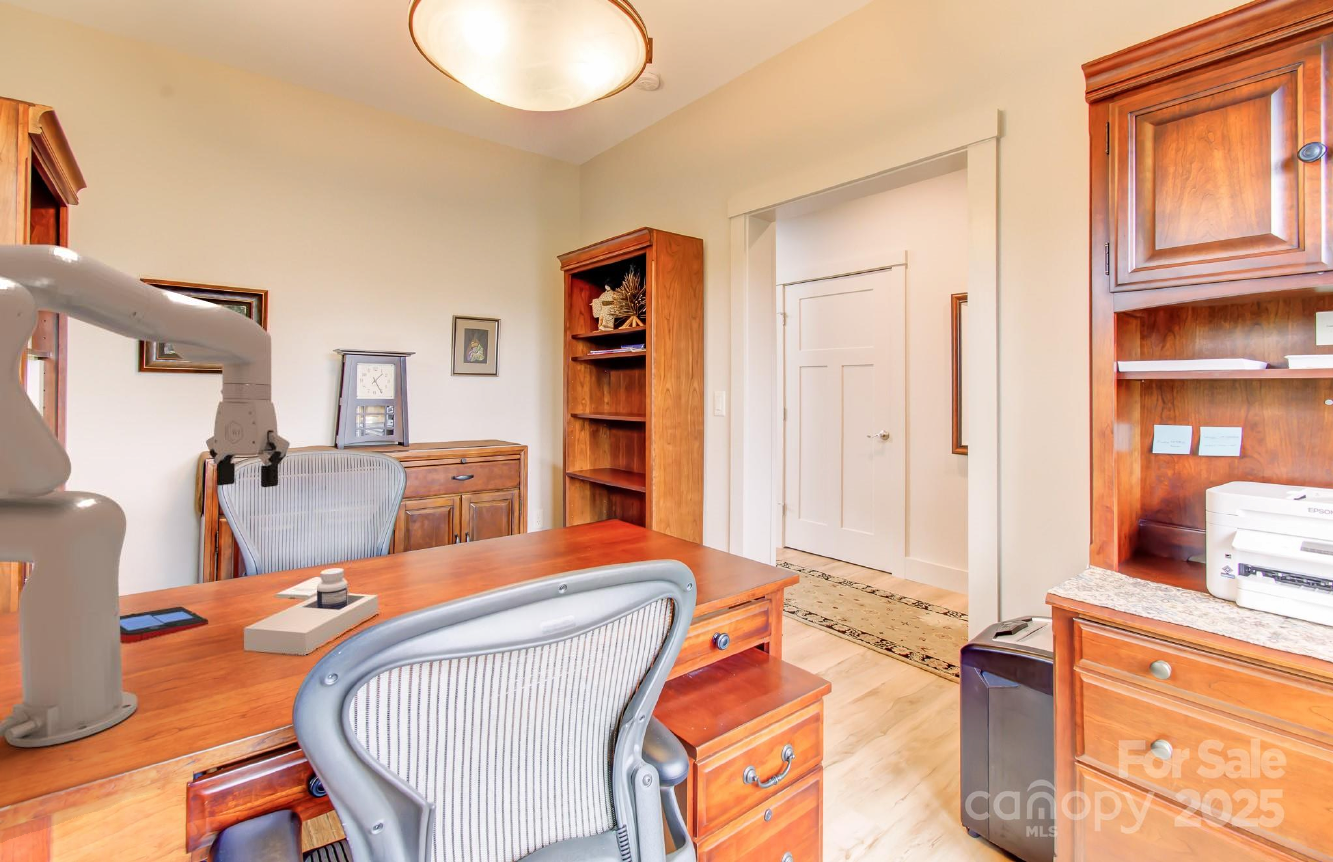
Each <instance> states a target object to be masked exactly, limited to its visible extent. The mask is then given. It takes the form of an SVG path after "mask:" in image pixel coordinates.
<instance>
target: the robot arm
mask: <svg viewBox="0 0 1333 862" xmlns="http://www.w3.org/2000/svg"><path fill="white" fill-rule="evenodd" d="M39 311H46V312H51V313H52V312H53V313H56V314H60V315H64V316H66V317H69V318H71V319H74V320H78V321H80V322H83V323H86V324H89V325H92V326H95V327H98V328H100V329H103V330H105V331H108V332H111V333H114V334H117V335H119V336H122V337H125V338H129V339H132V340H133V339H134V340H139V341H145V342H150V343H151V342H152V343H159V344H171V347H172V349H173V351H174V352H175V354H177V356H178V357H180V358H182V359H183V360H185V361H187V362H190V363H193V364H200V365H222V368H221V369H222V370H221V371H222V377H221V379H222V384H221V385H222V388H221V390H220V393H221V395H222V401H219V402H218V405H217V410H216V413H215V420H214V428H213V436H210V438H208V439H206V441H205V444H206V446H207V449H208V450H209V455H210V456H211V458H213V464H215V465H216V485H217V486H226V485H227V486H228V485H234V484H235V480H236V479H235V478H236V477H235V475H236V473H235V472H236V471H235V470H236V468H235V463H234V462H232V461H233V460H234V459H235V458H236V456H256V455H257V456H258V458H259V459H260V460H261V461H262V463H263V464H264V465H261V467H260V486H261V487H262V488H271V487H277V486H278V485H279V466H280V465H281V464H282V461H283V460H284V458H285V457H286V455H287V452H288V450H289V447H290V444H291V443H290V442H289V440H287V439H285V438H284V437H282V436H280V435H279V434H278V433H279V432H278V431H279V430H278V422H277V421H278V419H277V414H276V409H275V404H274V402H272V337H271V335H270V333H269V332H267V331H266V330H265V329H264V328H263V327H262V326H261V325H260V324H259V323H257V322H256V321H254V320H253V319H251V318H250V317H248V316H245V315H244V314H242V313H240V312H237V311H236V310H233V309H231V308H228V307H226V306H223V305H220V304H216V303H213V302H208V301H206V300H202V299H198V298H194V297H191V296H188V295H185V294H182V293H178V292H174V291H171V290H166V289H162V288H159V287H156V286H153V285H151V284H148V283H147V282H144V281H142V280H139V279H138V278H135V277H133V276H131V275H130V274H126V273H124V272H123V271H120V270H118V269H117V268H114V267H112V266H110V265H107V264H106V263H103V262H102V261H99V260H97V259H95V258H92V257H91V256H88V255H87V254H84V253H82V252H79V251H77V250H74V249H72V248H69V247H68V248H67V247H64V246H59V245H55V244H54V245H53V244H0V563H1V562H2V563H3V562H4V563H8V562H9V563H29V564H30V563H31V564H33V568H32V570H31V572H30V574H29V576H28V578H27V580H26V581H25V583H24V585H23V586H22V589H21V590H20V595H19V598H18V621H19V637H20V639H19V641H20V661H21V662H20V665H21V684H22V685H21V688H22V689H21V690H22V701H21V702H18V703H16V704H13V705H12V706H11V708H12V713H11V714H9V715H7V716H6V717H5V719H4V720H1V721H0V739H1V738H3V737H5V739H6V742H7V743H9V745H12V746H15V747H21V748H22V747H23V748H34V747H35V748H37V747H38V748H39V747H47V746H52V745H58V744H62V743H67V742H72V741H74V740H79V739H82V738H85V737H88V736H91V735H93V734H96V733H99V732H101V731H103V730H106V729H109V728H111V727H113V726H115V725H117V724H119V723H121V722H122V721H124V720H125V719H127V718H128V717H129V716H130V715H132V714H134V712H135V710H137V707H138V697H137V695H136V694H134V693H131V692H130V691H123V673H122V668H123V667H122V645H121V644H122V641H121V639H120V616H121V613H120V611H121V610H120V598H119V597H120V595H119V594H120V593H119V590H120V589H119V578H120V577H119V573H120V561H121V554H122V549H123V545H124V541H125V536H126V532H127V517H126V514H125V511H124V509H122V507H121V506H120V504H119V503H117V502H116V501H115V500H114V499H111V498H110V497H108V496H105V495H102V494H100V493H96V492H90V491H83V490H59V489H60V488H62V487H63V486H64V485H65V484H66V483H68V480H69V478H70V476H71V475H72V474H71V473H72V462H71V459H70V457H69V454H68V453H67V451H66V450H65V449H66V448H65V447H64V446H63V445H62V443H61V442H60V440H59V439H58V437H57V436H56V434H55V433H54V431H53V430H52V429H51V427H50V426H49V424H48V422H47V421H46V420H45V419H44V417H43V416H42V414H41V413H40V411H39V410H38V408H37V407H36V406H35V404H34V402H33V401H32V400H31V398H30V396H29V395H28V393H27V391H26V389H25V387H24V386H23V383H22V380H21V377H20V365H21V361H22V357H23V354H24V352H25V350H26V348H27V345H28V344H29V342H30V340H31V338H32V336H33V335H34V334H35V332H36V329H37V326H38V324H39V318H40V317H39Z"/></svg>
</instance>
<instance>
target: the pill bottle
mask: <svg viewBox="0 0 1333 862" xmlns="http://www.w3.org/2000/svg"><path fill="white" fill-rule="evenodd" d="M344 573H345V572H344V568H339V567H335V568H334V567H333V568H328V569H324V570H322V571H321V572H320V577H321V580H322V582H320V583H319V584H318V586H317V608H319V609H333V610H340V609H342V608H344V607H346V606H348V593H349V585H348V581H347V580H346V578H344V576H345V574H344ZM342 578H344V579H342Z"/></svg>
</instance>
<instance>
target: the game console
mask: <svg viewBox="0 0 1333 862" xmlns="http://www.w3.org/2000/svg"><path fill="white" fill-rule="evenodd" d="M205 625H209V620H208V619H207V618H205V617H202V616H201V615H199V614H197V613H195V612H192V611H191V610H189V609H186V608H185V607H183V606H174V607H167V608H162V609H154V610H149V611H144V612H138V613H131V614H125V615H120V639H121V643H123V642H126V643H125V644H130V642H133V643H138V641H139V642H142V641H141V640H143V641H146V639H147V640H149V638H151V639H154V637H155V638H158V637H157V636H159V637H163V636H166V635H165V634H167V635H170V633H171V634H175V633H178V631H179V632H182V631H187V630H190V629H194V628H198V627H202V626H205ZM186 629H187V630H186ZM162 635H163V636H162Z"/></svg>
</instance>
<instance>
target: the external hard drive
mask: <svg viewBox="0 0 1333 862" xmlns="http://www.w3.org/2000/svg"><path fill="white" fill-rule="evenodd" d="M342 579H345V578H344V577H343V578H342ZM320 582H322V580H321V576H315V577H312V578H309V579H307V580H305V581H302V582H301V583H299V584H296V585H294V586H291V587H289V588H287V589H284V590H282V591H280V592H278V593H275V594H274V597H280V598H279V599H295V598H301V599H300V600H308V599H310V598H312V597H315V596H316V595H317V586H318V584H319V583H320Z"/></svg>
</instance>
